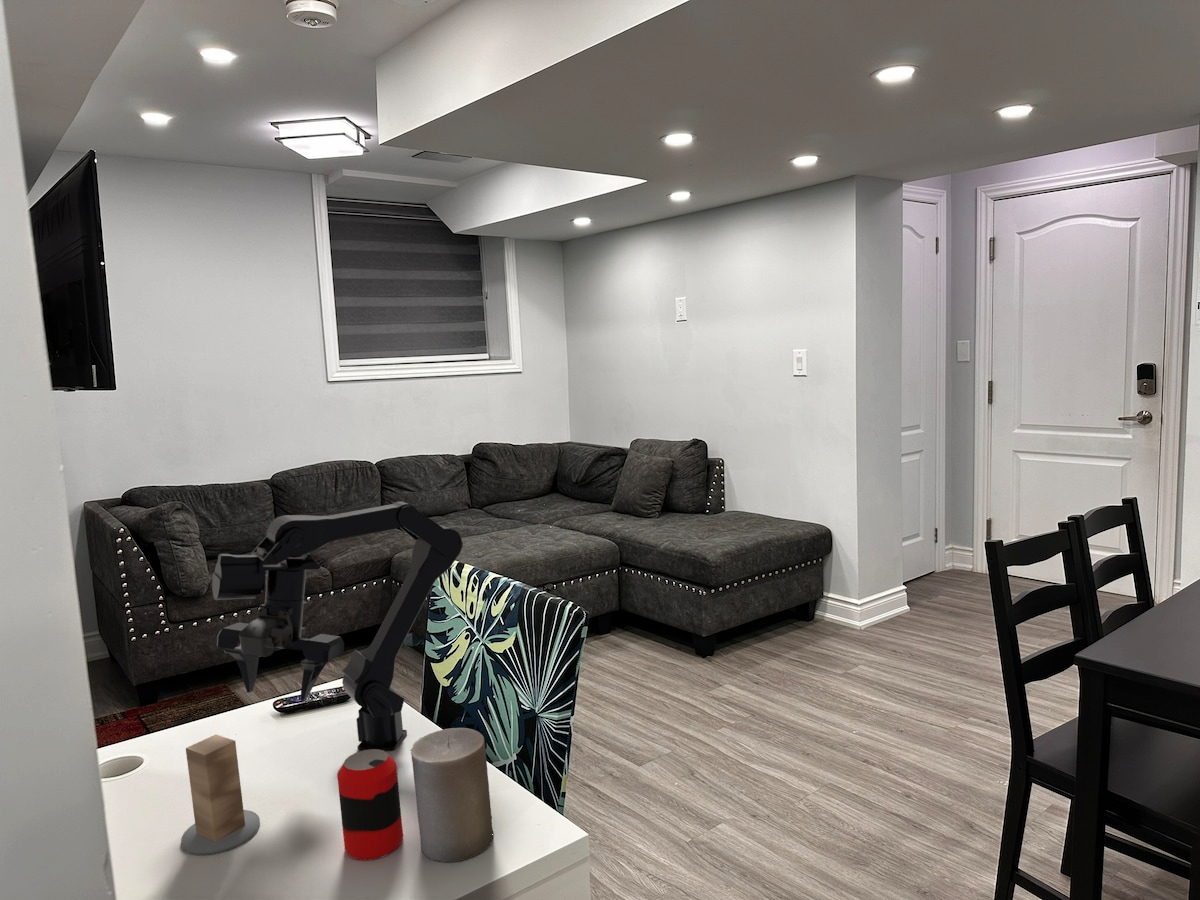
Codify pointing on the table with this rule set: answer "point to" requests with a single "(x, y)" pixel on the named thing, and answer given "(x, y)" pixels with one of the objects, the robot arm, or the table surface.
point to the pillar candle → (452, 794)
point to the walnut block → (215, 787)
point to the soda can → (370, 804)
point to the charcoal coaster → (206, 846)
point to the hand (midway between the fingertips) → (276, 696)
